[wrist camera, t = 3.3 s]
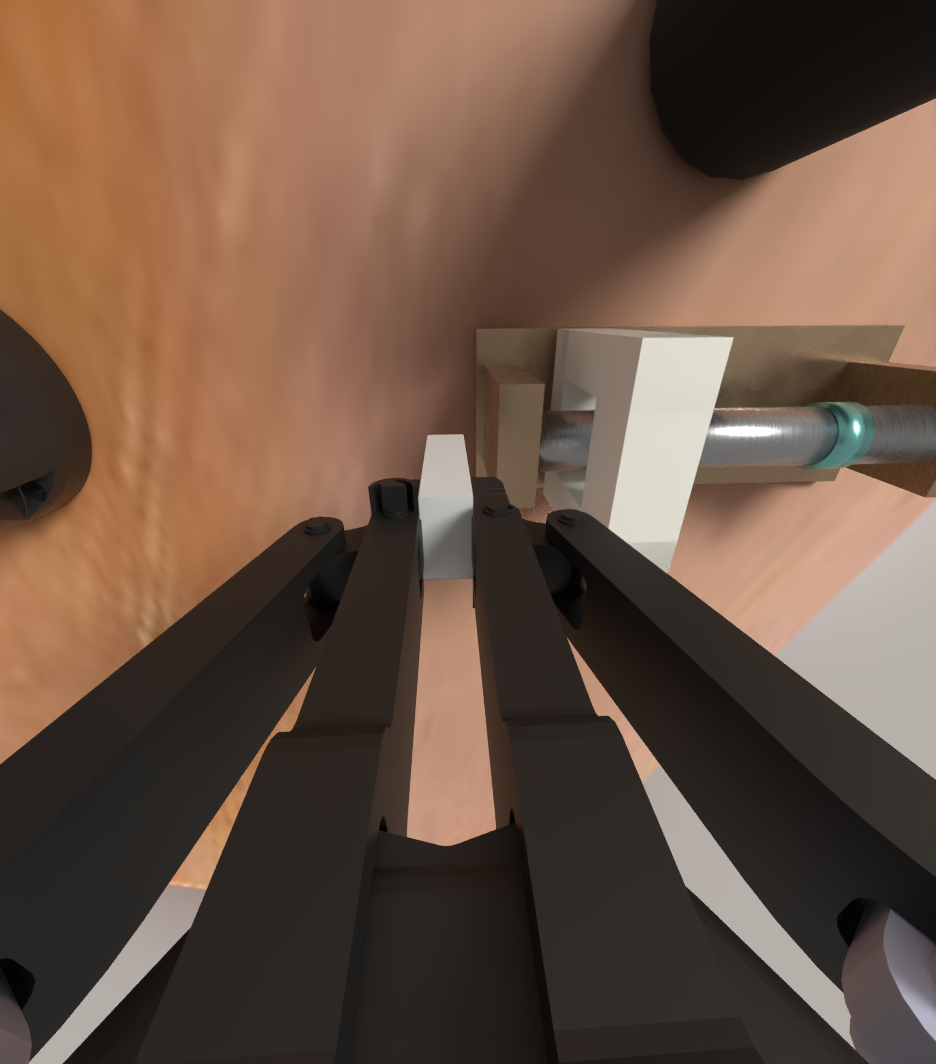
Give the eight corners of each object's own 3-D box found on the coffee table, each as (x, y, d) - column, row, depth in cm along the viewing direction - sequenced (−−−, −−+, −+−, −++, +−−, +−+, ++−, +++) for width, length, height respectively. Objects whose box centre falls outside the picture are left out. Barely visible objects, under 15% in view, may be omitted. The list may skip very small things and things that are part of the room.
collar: (543, 493, 27) (597, 591, 18) (557, 328, 23) (642, 337, 13) (586, 492, 27) (664, 588, 18) (610, 328, 23) (733, 337, 13)
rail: (474, 484, 29) (485, 545, 21) (475, 328, 24) (489, 334, 16) (823, 476, 30) (952, 530, 22) (888, 325, 25) (1081, 329, 18)
